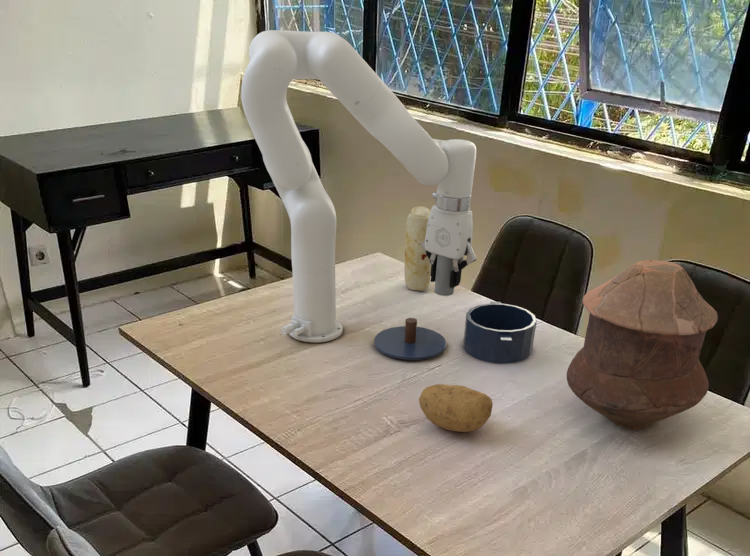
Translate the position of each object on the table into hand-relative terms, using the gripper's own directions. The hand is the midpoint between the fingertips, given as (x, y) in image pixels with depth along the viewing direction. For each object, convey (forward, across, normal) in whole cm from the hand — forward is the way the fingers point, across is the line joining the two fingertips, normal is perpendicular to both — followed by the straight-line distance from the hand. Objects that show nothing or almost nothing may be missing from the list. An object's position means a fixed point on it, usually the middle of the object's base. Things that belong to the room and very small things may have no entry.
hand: (444, 282), depth 179 cm
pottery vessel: (+9, +53, -13) cm, 55 cm away
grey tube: (+3, 0, 0) cm, 3 cm away
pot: (+10, +18, -3) cm, 20 cm away
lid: (+10, +2, -15) cm, 18 cm away
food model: (+10, -17, +15) cm, 25 cm away
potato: (+10, +29, -38) cm, 49 cm away
